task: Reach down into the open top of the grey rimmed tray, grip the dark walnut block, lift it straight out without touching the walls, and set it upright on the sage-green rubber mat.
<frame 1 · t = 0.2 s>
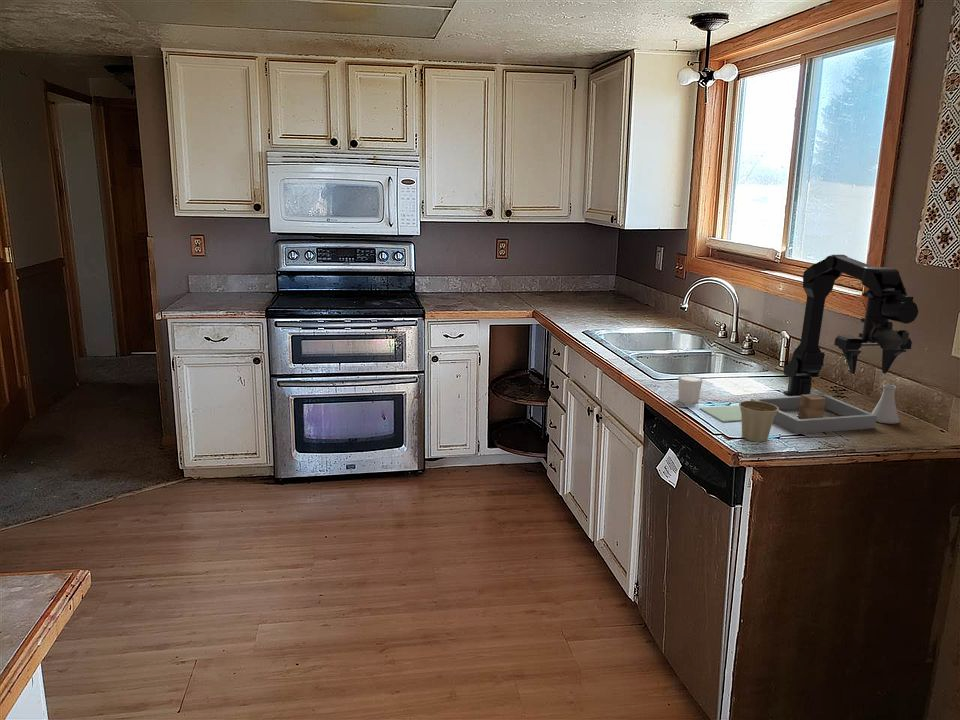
hand: (868, 373, 198), 14 cm above the worktop, tool pointing down, fingers open, 9 cm apart
flask: (884, 421, 205), on the worktop
flower pot: (754, 439, 188), on the worktop
mat: (730, 414, 207), on the worktop
grey rimmed tray: (810, 418, 205), on the worktop
shot glass: (688, 401, 219), on the worktop
walnut block: (810, 419, 205), resting in grey rimmed tray
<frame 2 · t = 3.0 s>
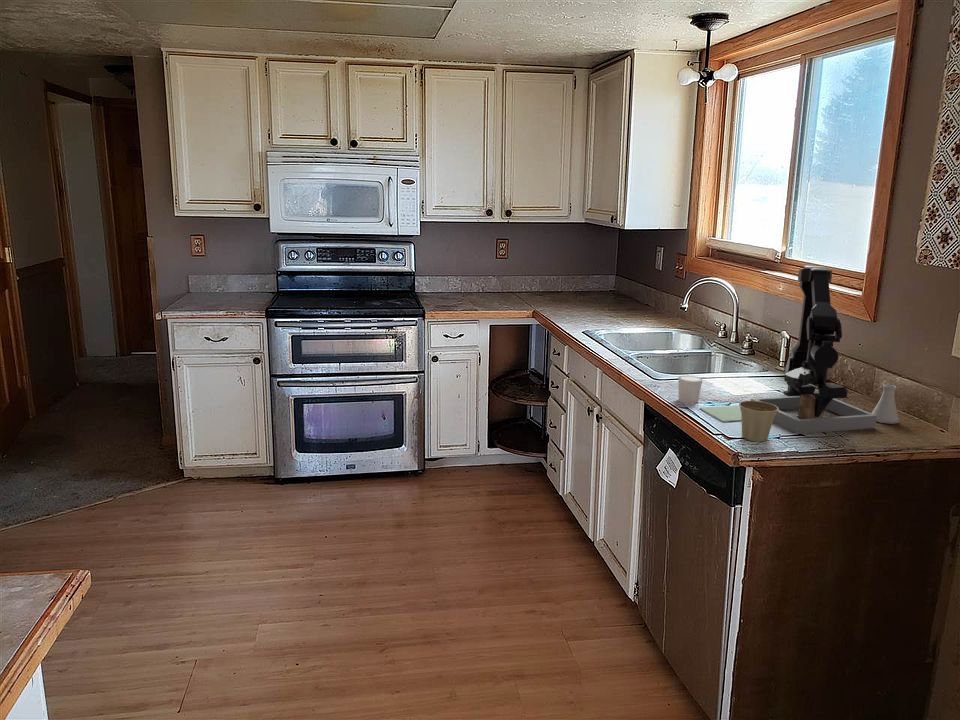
hand: (810, 414, 204), 1 cm above the worktop, tool pointing down, fingers closed on walnut block, 4 cm apart
walnut block: (810, 419, 205), resting in grey rimmed tray, touching gripper
everything else where it was.
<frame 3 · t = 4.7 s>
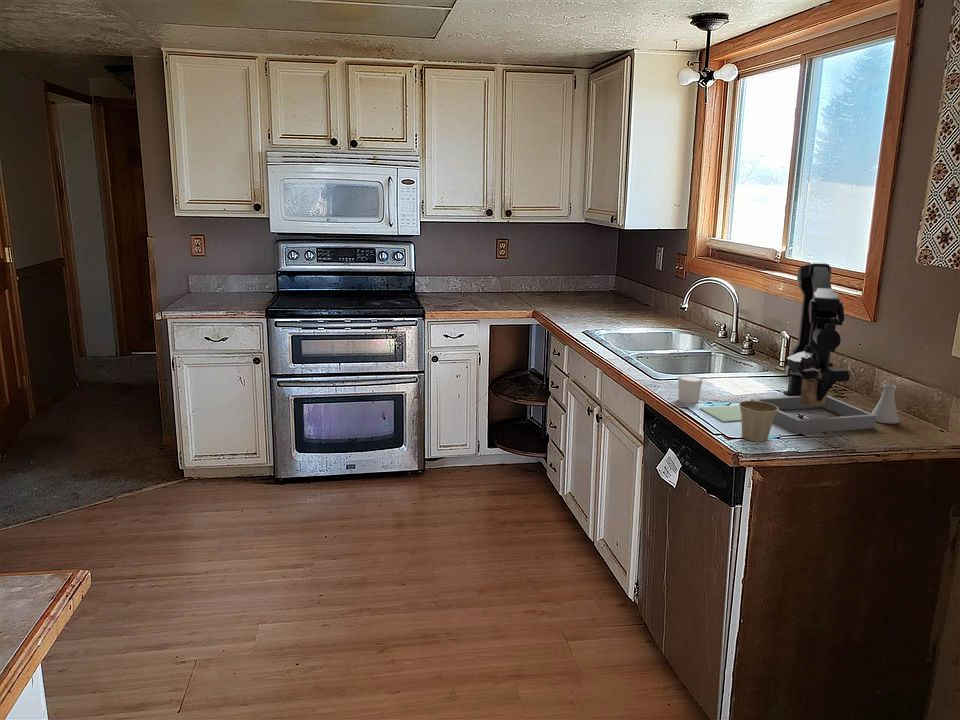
hand: (813, 398, 203), 6 cm above the worktop, tool pointing down, fingers closed on walnut block, 4 cm apart
walnut block: (812, 403, 203), point 4 cm above the worktop, touching gripper
everything else where it was.
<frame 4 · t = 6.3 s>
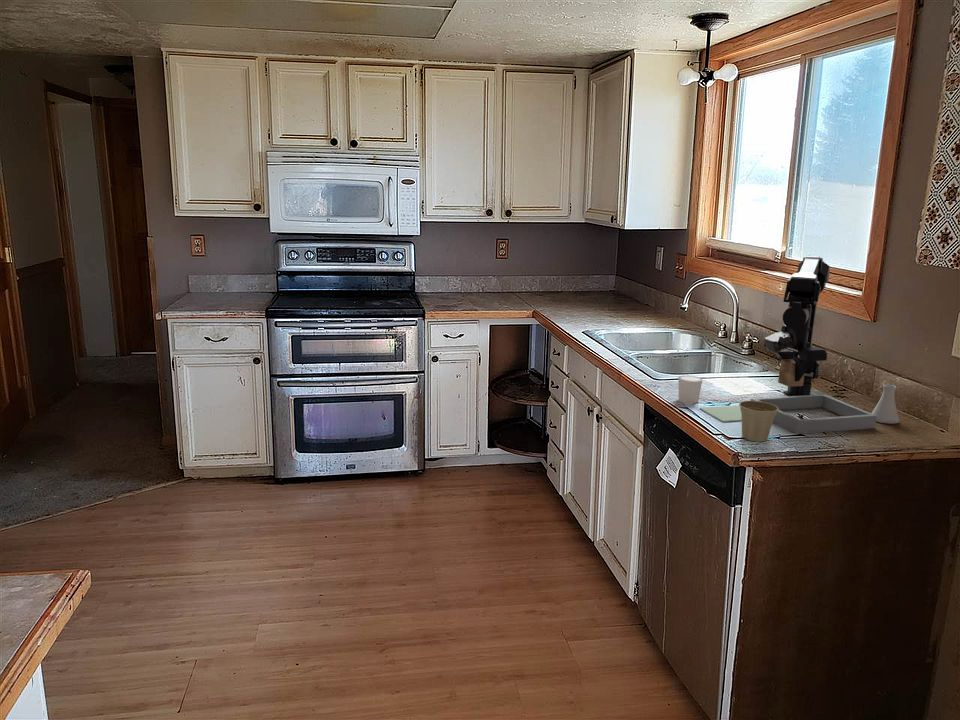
hand: (791, 379, 202), 11 cm above the worktop, tool pointing down, fingers closed on walnut block, 4 cm apart
walnut block: (790, 384, 203), point 10 cm above the worktop, touching gripper
everything else where it was.
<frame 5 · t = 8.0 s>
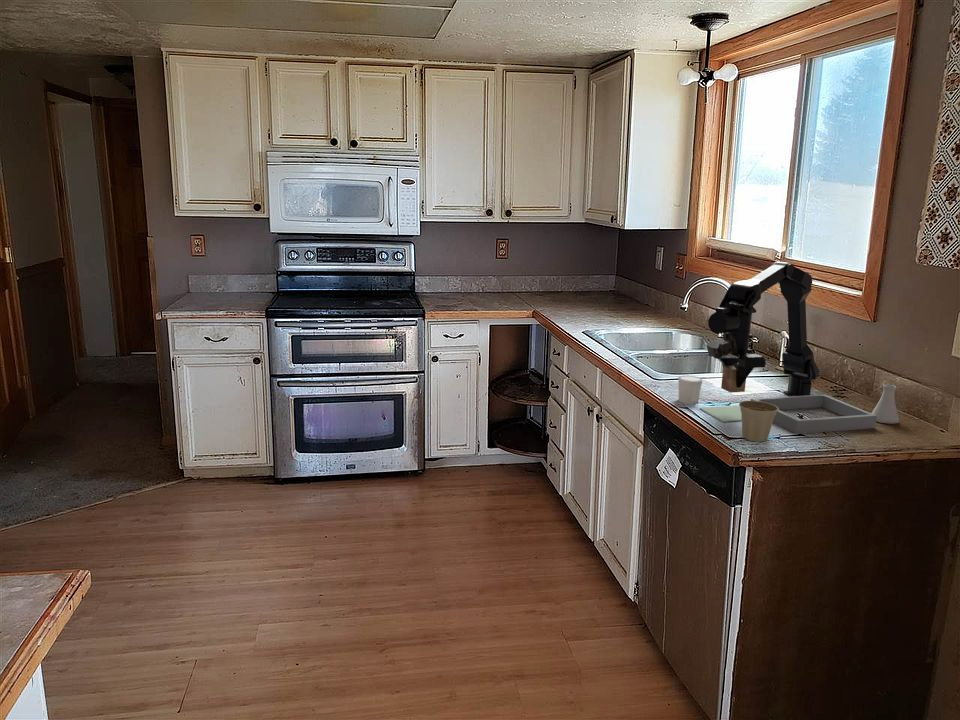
hand: (733, 385, 205), 9 cm above the worktop, tool pointing down, fingers closed on walnut block, 4 cm apart
walnut block: (732, 389, 205), point 7 cm above the worktop, touching gripper
everything else where it was.
when the fingers open (3 cm above the worktop, at t = 9.6 s): walnut block drops 1 cm, resting on mat.
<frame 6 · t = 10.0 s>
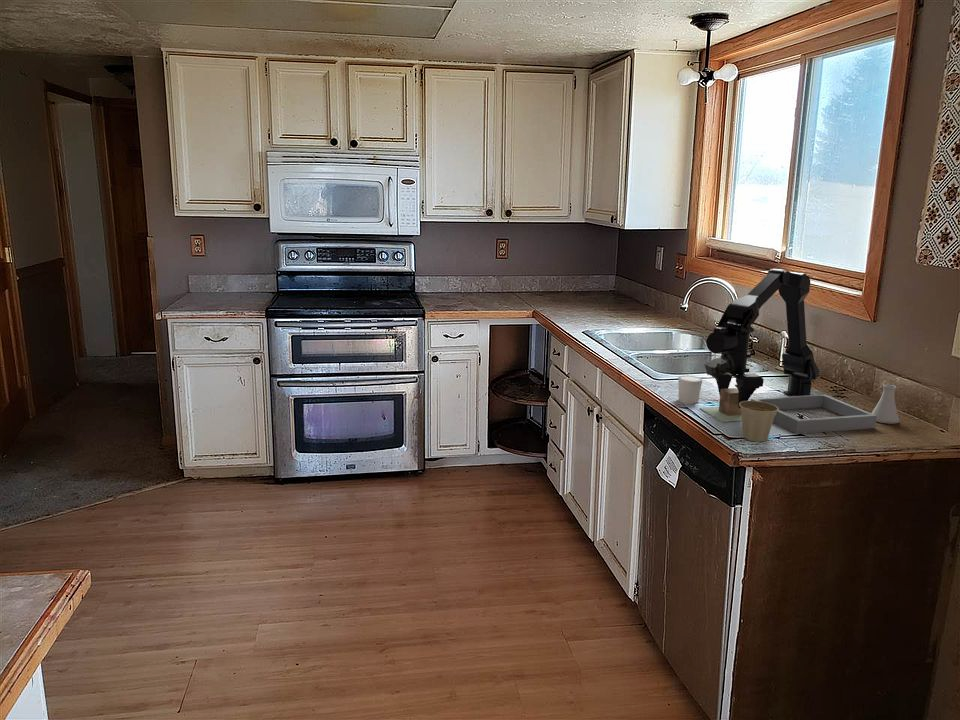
hand: (731, 403, 206), 3 cm above the worktop, tool pointing down, fingers open, 9 cm apart
walnut block: (730, 412, 207), resting on mat
everything else where it was.
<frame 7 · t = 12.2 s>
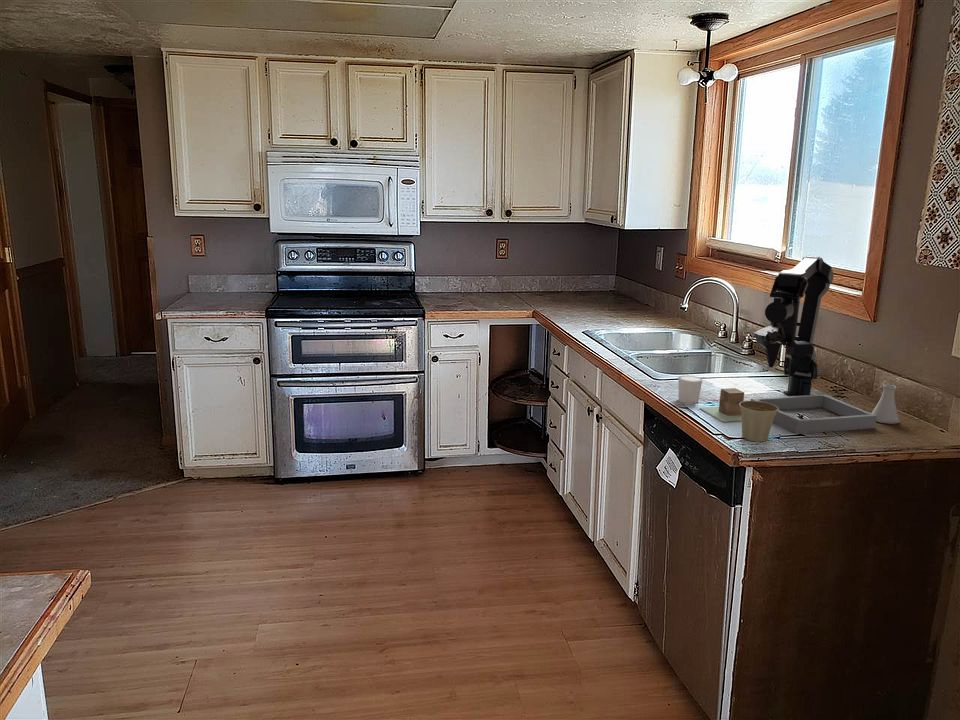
hand: (780, 371, 209), 11 cm above the worktop, tool pointing down, fingers open, 9 cm apart
nothing on the worktop moved.
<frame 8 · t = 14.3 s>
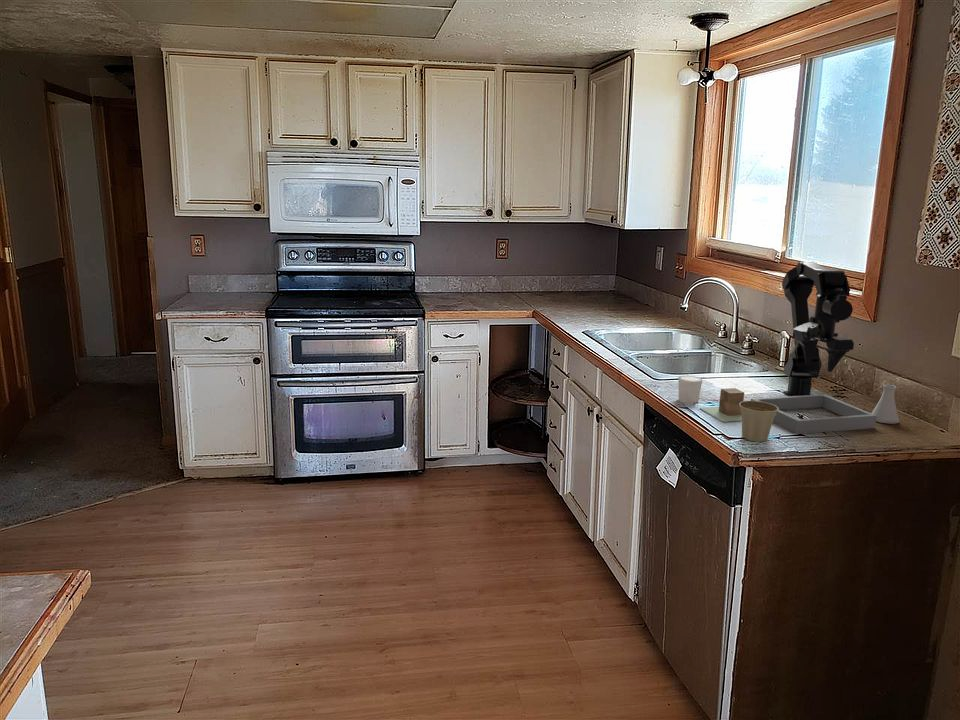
hand: (818, 367, 212), 12 cm above the worktop, tool pointing down, fingers open, 9 cm apart
nothing on the worktop moved.
at the end: walnut block inside the target area on the mat (0.0 cm from its centre), point 0.4 cm above the mat's base; walnut block tilted 0°; the gripper is holding nothing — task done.
